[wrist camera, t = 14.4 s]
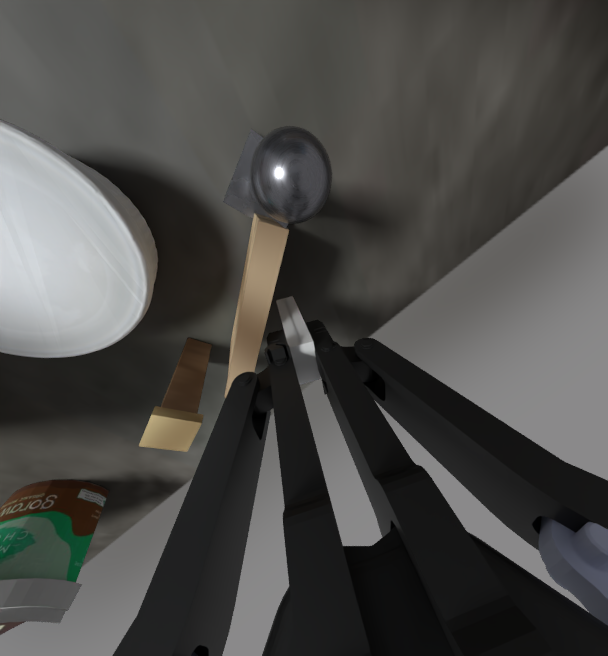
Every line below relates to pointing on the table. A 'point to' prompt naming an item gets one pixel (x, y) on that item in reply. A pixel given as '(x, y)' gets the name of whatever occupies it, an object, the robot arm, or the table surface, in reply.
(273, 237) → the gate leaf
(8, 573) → the food container
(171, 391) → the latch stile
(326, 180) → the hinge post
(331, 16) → the table surface
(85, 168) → the ramekin
